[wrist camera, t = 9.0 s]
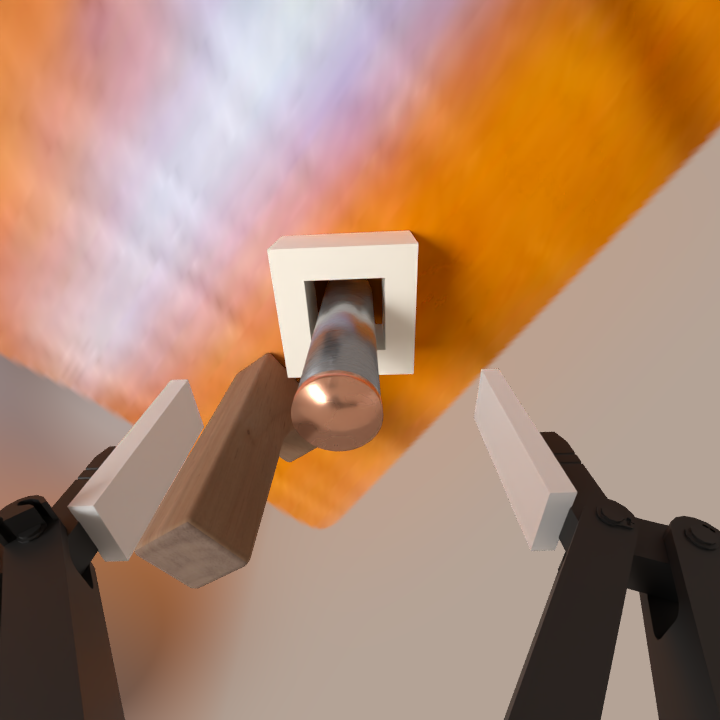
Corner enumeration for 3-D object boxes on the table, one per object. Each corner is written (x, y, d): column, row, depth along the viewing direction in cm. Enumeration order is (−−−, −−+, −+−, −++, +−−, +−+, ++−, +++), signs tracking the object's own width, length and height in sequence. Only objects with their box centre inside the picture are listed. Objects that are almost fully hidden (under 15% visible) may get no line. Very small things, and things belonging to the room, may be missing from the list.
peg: (326, 318, 32) (296, 452, 17) (322, 271, 30) (284, 379, 15) (373, 316, 31) (383, 450, 17) (372, 269, 29) (382, 375, 15)
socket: (281, 235, 28) (266, 249, 24) (409, 230, 28) (418, 243, 24) (297, 349, 33) (287, 377, 29) (406, 345, 33) (413, 373, 28)
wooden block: (329, 413, 37) (305, 604, 21) (296, 433, 38) (249, 626, 22) (269, 349, 33) (185, 521, 17) (235, 374, 34) (127, 554, 19)
